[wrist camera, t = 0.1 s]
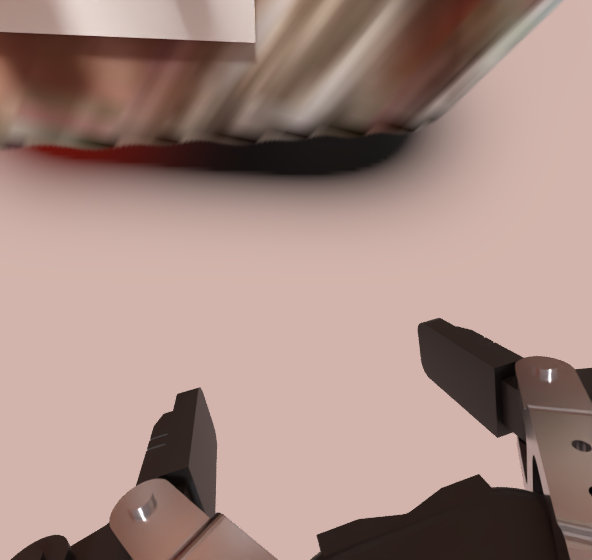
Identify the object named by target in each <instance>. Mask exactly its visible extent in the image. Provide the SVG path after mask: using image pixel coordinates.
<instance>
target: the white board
mask: <svg viewBox="0 0 592 560" xmlns="http://www.w3.org/2000/svg"><path fill="white" fill-rule="evenodd" d="M0 32H14V33H37V34H61V35H84V36H107V37H130V38H153V39H177V40H200V41H223V42H246V43H255V8H254V0H0Z"/></svg>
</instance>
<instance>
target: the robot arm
mask: <svg viewBox="0 0 592 560" xmlns="http://www.w3.org/2000/svg"><path fill="white" fill-rule="evenodd" d="M418 337H419V345H420V354H421V362H422V366H423V369H424V371H425V373H426V374H427V376H428V377H429V378H430V379H431V380H432V381H434V382H435V383H436V384H437V385H438V386H439V387H440V388H441V389H443V390H444V391H445V392H446V393H447V394H448V395H449V396H451V397H452V398H453V399H454V400H455V401H456V402H457V403H459V404H460V405H461V406H462V407H463V408H464V409H465V410H467V411H468V412H469V413H470V414H471V415H472V416H473V417H474V418H476V419H477V420H478V421H479V422H480V423H481V424H482V425H484V426H485V427H486V428H487V429H488V430H489V431H490V432H491V433H493V434H494V435H495V436H496V437H497V438H498V437H501V436H504V435H507V434H509V433H512V432H514V433H515V434H516V435H517V447H518V453H519V459H520V465H521V470H522V476H523V482H524V487H525V490H523V489H517V488H507V487H493V488H491V487H490V486H489V484H488V483H487V482H486V481H485V480H484V479H483V478H482V477H481V476H480V475H479V474H478V475H475V476H473V477H470V478H467V479H465V480H462V481H459V482H457V483H454V484H451V485H449V486H446V487H443V488H441V489H440V490H438V491H437V492H436V493H434V494H433V495H432V496H430V497H429V498H428V499H427V500H425V501H424V502H422V504H420V505H419V506H417V507H416V508H415V509H413V510H412V511H411V512H409V513H407V514H403V515H394V516H385V517H375V518H365V519H358V520H355V521H353V522H350V523H347V524H345V525H342V526H339V527H337V528H334V529H331V530H329V531H326V532H323V533H321V534H318V535H317V539H318V542H319V547H320V551H321V552H319V553H318V554H317V555H315V556H314V557H313V558H312V559H311V560H592V368H586V369H574V368H573V367H572V366H571V365H569V364H567V363H565V362H563V361H561V360H558V359H554V358H550V357H542V356H533V357H526V358H523V357H521V356H519V355H517V354H515V353H514V352H512V351H510V350H508V349H506V348H504V347H502V346H501V345H499V344H497V343H493V341H491V340H489V339H488V338H484V336H482V335H480V334H478V333H476V332H474V331H473V330H469V329H465V328H461V327H455V326H453V325H452V324H450V323H448V322H446V321H444V320H443V319H441V318H437V319H433V320H430V321H427V322H423V323H420V324H419V326H418ZM150 439H151V441H149V444H148V448H147V449H148V451H146V454H145V458H144V461H143V464H142V468H141V471H140V474H139V478H138V481H137V484H136V487H134V488H133V489H131V490H130V491H129V492H127V493H126V494H125V495H124V496H123V497H122V498H121V499H120V500H119V502H118V503H117V504H116V506H115V507H114V509H113V511H112V513H111V516H110V521H109V523H108V524H107V525H105V526H104V527H102V528H101V529H99V530H97V531H96V532H94V533H92V534H91V535H89V536H87V537H86V538H84V539H82V540H81V541H79V542H77V543H76V544H74V545H72V546H70V545H69V543H68V541H67V539H66V538H65V537H64V536H60V535H52V536H48V537H45V538H42V539H40V540H38V541H36V542H34V543H32V544H31V545H29V546H27V547H26V548H24V549H23V550H22V551H21V552H19V553H18V554H17V555H16V556H14V557H13V558H12V559H11V560H277V559H276V558H275V557H274V556H273V555H272V554H270V553H269V552H268V551H267V550H266V549H264V548H263V547H262V546H261V545H259V544H258V543H257V542H256V541H255V540H253V539H252V538H251V537H250V536H249V535H247V534H246V533H245V532H244V531H243V530H241V529H240V528H239V527H238V526H237V525H235V524H234V523H233V522H232V521H230V520H229V519H228V518H227V517H226V516H224V515H223V514H221V513H216V514H215V499H216V498H215V497H216V459H217V441H216V433H215V429H214V426H213V422H212V419H211V416H210V413H209V410H208V407H207V404H206V401H205V397H204V394H203V392H202V390H201V388H196V389H193V390H189V391H186V392H182V393H179V394H177V396H176V401H175V405H174V409H173V411H172V412H168V413H165V414H163V416H162V417H161V418H160V419H159V420H158V422H157V423H156V424H155V426H154V428H153V431H152V434H151V438H150Z"/></svg>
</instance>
